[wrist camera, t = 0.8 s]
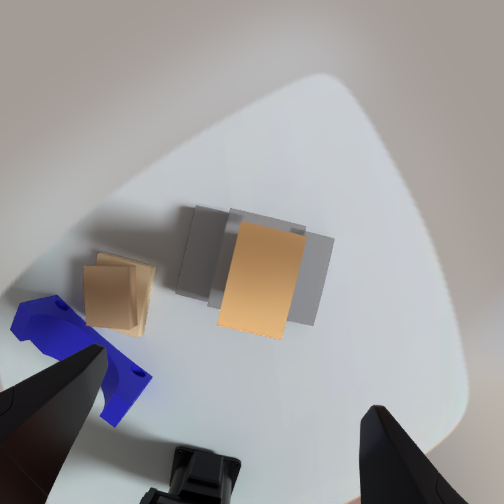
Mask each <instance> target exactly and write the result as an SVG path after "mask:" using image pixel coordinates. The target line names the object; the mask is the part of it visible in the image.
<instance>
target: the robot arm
mask: <svg viewBox="0 0 504 504" xmlns="http://www.w3.org/2000/svg"><path fill="white" fill-rule="evenodd" d="M107 368H108V360H107V352H106V348H105V347H104V346H102V345H99V344H96V343H94V344H91V345H89V346H87V347H86V348H84V349H82V350H80V351H78V352H76V353H74V354H73V355H71V356H69V357H67V358H65V359H63V360H61V361H59V362H58V363H56V364H54V365H52V366H50V367H48V368H46V369H44V370H42V371H41V372H39V373H37V374H35V375H33V376H31V377H29V378H27V379H26V380H24V381H22V382H20V383H18V384H16V385H15V386H12V387H10V388H8V389H6V390H5V391H2V392H0V504H45V503H46V500H47V498H48V495H49V493H50V491H51V489H52V487H53V484H54V482H55V480H56V478H57V476H58V474H59V472H60V469H61V467H62V465H63V463H64V461H65V459H66V457H67V455H68V453H69V451H70V449H71V447H72V445H73V443H74V441H75V439H76V437H77V435H78V433H79V431H80V429H81V427H82V425H83V423H84V421H85V419H86V418H87V416H88V414H89V412H90V410H91V408H92V406H93V404H94V401H95V399H96V396H97V393H98V391H99V388H100V386H101V383H102V381H103V378H104V376H105V373H106V371H107ZM179 450H180V451H182V452H179ZM234 463H237V464H234ZM240 468H241V461H240V460H238V459H233V458H228V457H223V456H218V455H214V454H209V453H205V452H201V451H196V450H192V449H188V448H185V447H180V446H179V447H177V448H176V450H175V454H174V460H173V466H172V472H171V478H170V485H169V486H170V489H169V492H168V493H165V492H162V491H158V490H157V489H155V488H152V487H151V488H150V490H149V491H148V492H146V494H145V495H144V497H142V499H141V501H140V503H139V504H230V498H231V494H232V491H233V488H234V485H235V482H236V480H237V477H238V474H239V471H240ZM359 470H360V490H361V504H468V503H467V502H466V501H465V500H464V499H463V498H462V497H461V496H460V495H459V494H458V493H457V492H456V491H455V490H454V489H453V488H452V487H451V486H450V484H449V483H448V482H447V481H446V480H445V479H444V477H442V475H441V474H440V473H438V470H437V469H436V468H435V467H434V466H433V464H432V463H431V462H430V461H429V459H428V458H427V457H426V456H425V455H424V453H423V452H422V451H421V450H420V449H419V447H418V446H417V445H416V444H415V443H414V441H413V440H412V439H411V438H410V436H409V435H408V434H407V433H406V432H405V430H404V429H403V428H402V427H401V426H400V424H399V423H398V422H397V421H396V420H395V418H394V417H393V416H392V415H391V414H390V412H389V411H388V410H387V409H386V408H385V407H384V406H382V405H373V406H371V407H370V409H369V410H368V411H367V413H366V414H365V415H364V417H363V418H362V420H361V424H360V449H359Z"/></svg>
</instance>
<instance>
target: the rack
mask: <svg viewBox="0 0 504 504" xmlns="http://www.w3.org/2000/svg"><path fill="white" fill-rule="evenodd" d="M241 221H244V222H249V223H253V224H257V225H261V226H265V227H270V228H274V229H278V230H282V231H286V232H290V233H294V234H298V235H302V236H306V237H307V239H306V243H305V247H304V252H303V256H302V260H301V265H300V269H299V273H298V277H297V281H296V285H295V289H294V293H293V297H292V301H291V305H290V309H289V313H288V317H287V321H292V322H297V323H302V324H307V325H312V326H313V325H314V321H315V318H316V314H317V310H318V306H319V302H320V299H321V295H322V291H323V287H324V283H325V278H326V274H327V270H328V266H329V262H330V257H331V253H332V248H333V244H334V238H330V237H326V236H322V235H318V234H314V233H310V232H306V231H305V230H306V226H303V225H299V224H295V223H291V222H287V221H283V220H279V219H275V218H270V217H266V216H262V215H258V214H254V213H249V212H245V211H241V210H237V209H232V208H230V211H229V213H228V212H223V211H219V210H215V209H210V208H206V207H201V206H197V205H196V208H195V212H194V216H193V220H192V224H191V228H190V232H189V236H188V241H187V245H186V249H185V253H184V258H183V262H182V267H181V271H180V276H179V280H178V285H177V290H176V294H179V295H182V296H186V297H190V298H194V299H198V300H202V301H206V302H208V305H207V306H209V307H213V308H217V309H221V305H222V301H223V296H224V292H225V288H226V283H227V279H228V275H229V271H230V266H231V262H232V258H233V254H234V249H235V245H236V241H237V237H238V233H239V229H240V224H241Z"/></svg>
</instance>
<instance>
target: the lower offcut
mask: <svg viewBox="0 0 504 504" xmlns="http://www.w3.org/2000/svg"><path fill="white" fill-rule="evenodd" d="M96 265H116V266H136V296H137V319H138V325H137V326H135V327H134V328H132V329H131V330H123V329H113V328H109V329H112V330H115V331H118V332H121V333H124V334H127V335H130V336H133V337H136V338H139V337H140V336H141V335H143V334H144V329H145V323H146V317H147V311H148V306H149V301H150V295H151V290H152V285H153V280H154V276H155V271H156V267H155V266H152V265H148V264H144V263H141V262H137V261H133V260H130V259H126V258H123V257H119V256H115V255H112V254H108V253H98V255H97V260H96Z"/></svg>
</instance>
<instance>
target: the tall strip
mask: <svg viewBox="0 0 504 504" xmlns="http://www.w3.org/2000/svg"><path fill="white" fill-rule="evenodd" d="M306 239H307V237H306V236H302V235H298V234H294V233H290V232H286V231H282V230H278V229H274V228H270V227H265V226H261V225H257V224H253V223H249V222H244V221H241V224H240V229H239V233H238V237H237V241H236V245H235V249H234V254H233V258H232V262H231V266H230V271H229V275H228V279H227V283H226V288H225V292H224V296H223V301H222V305H221V309H220V314H219V318H218V322H217V325H219V326H223V327H227V328H231V329H235V330H239V331H244V332H248V333H253V334H257V335H262V336H266V337H271V338H276V339H282V336H283V332H284V328H285V324H286V321H287V317H288V313H289V309H290V305H291V301H292V297H293V293H294V289H295V285H296V281H297V277H298V273H299V269H300V265H301V260H302V256H303V252H304V247H305V243H306Z"/></svg>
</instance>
